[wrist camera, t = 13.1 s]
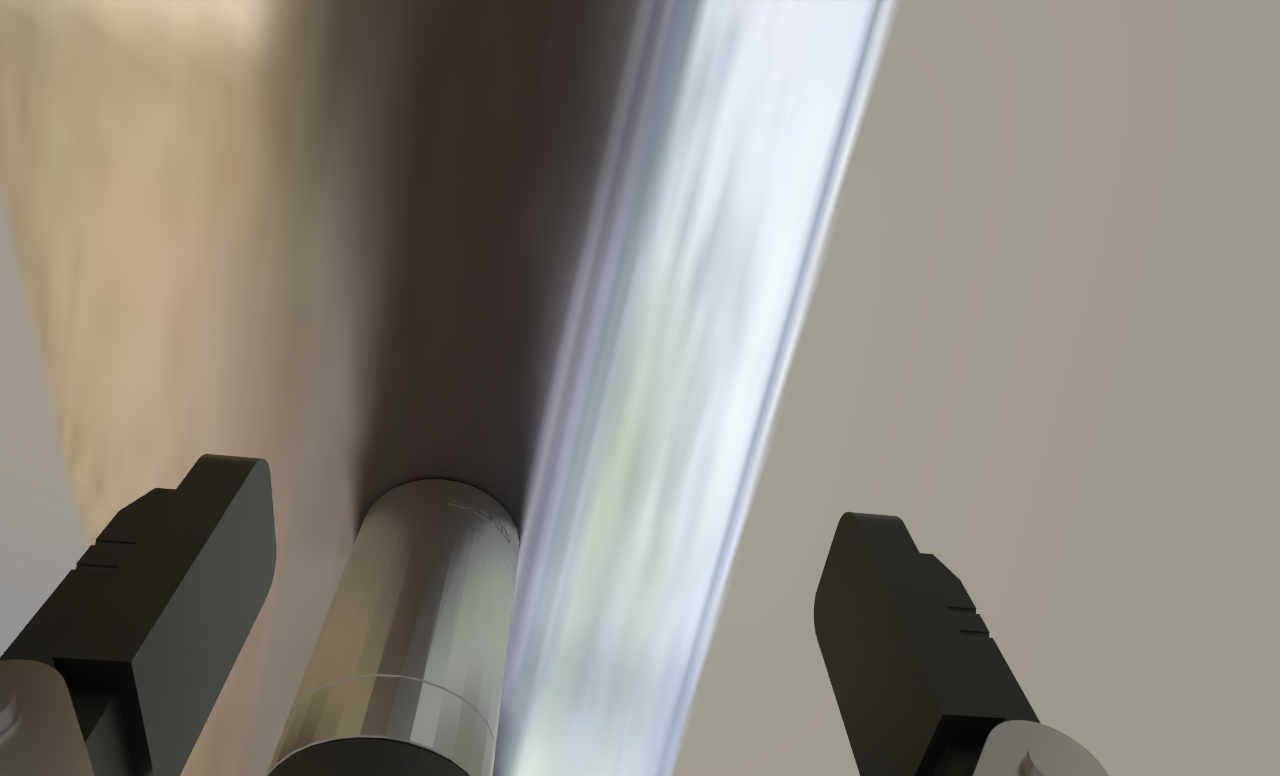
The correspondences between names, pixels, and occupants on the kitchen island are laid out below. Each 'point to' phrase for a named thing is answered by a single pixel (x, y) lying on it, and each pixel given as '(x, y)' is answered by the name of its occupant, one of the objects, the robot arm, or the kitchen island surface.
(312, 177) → the kitchen island surface
